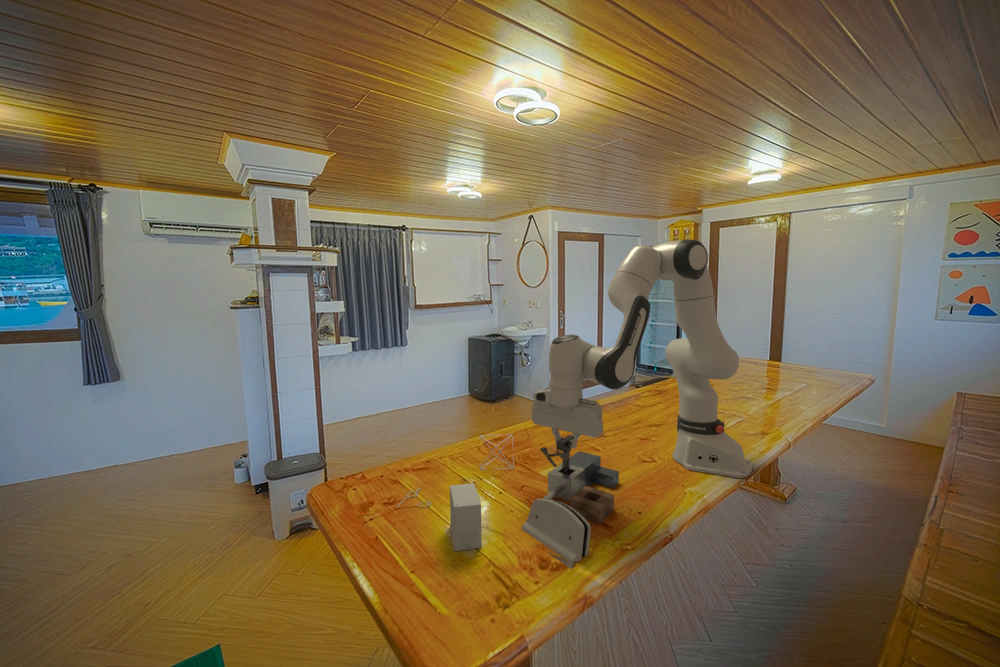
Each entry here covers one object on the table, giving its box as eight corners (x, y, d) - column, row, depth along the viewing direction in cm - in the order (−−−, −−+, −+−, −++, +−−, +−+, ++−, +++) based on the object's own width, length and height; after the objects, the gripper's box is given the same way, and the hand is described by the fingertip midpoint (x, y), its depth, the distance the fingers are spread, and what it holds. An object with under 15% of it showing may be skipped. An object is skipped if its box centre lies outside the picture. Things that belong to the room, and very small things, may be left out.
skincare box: (483, 547, 92) (481, 503, 91) (454, 552, 91) (452, 507, 90) (476, 521, 102) (474, 481, 101) (450, 525, 101) (448, 485, 100)
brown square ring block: (613, 513, 104) (613, 494, 104) (600, 528, 98) (600, 508, 97) (585, 503, 109) (585, 485, 109) (570, 517, 103) (570, 498, 102)
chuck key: (576, 473, 115) (576, 436, 113) (564, 483, 109) (564, 444, 108) (567, 471, 116) (567, 434, 115) (555, 480, 111) (554, 442, 110)
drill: (579, 472, 127) (579, 451, 126) (620, 484, 119) (620, 461, 118) (534, 508, 107) (533, 483, 106) (579, 525, 99) (579, 498, 98)
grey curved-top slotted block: (519, 532, 97) (529, 490, 98) (533, 531, 100) (542, 490, 101) (572, 570, 84) (583, 520, 85) (586, 567, 87) (597, 520, 88)
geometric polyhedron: (521, 462, 136) (520, 435, 135) (505, 475, 126) (504, 447, 125) (489, 455, 142) (488, 430, 141) (471, 468, 132) (470, 440, 131)
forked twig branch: (539, 450, 146) (539, 446, 145) (567, 447, 148) (567, 443, 147) (564, 482, 122) (564, 477, 122) (596, 477, 124) (596, 472, 124)
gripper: (607, 399, 106) (607, 450, 108) (540, 388, 119) (541, 434, 121) (596, 405, 101) (596, 458, 103) (528, 393, 114) (528, 441, 116)
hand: (566, 445), depth 112 cm, fingers closed on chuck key, 3 cm apart
